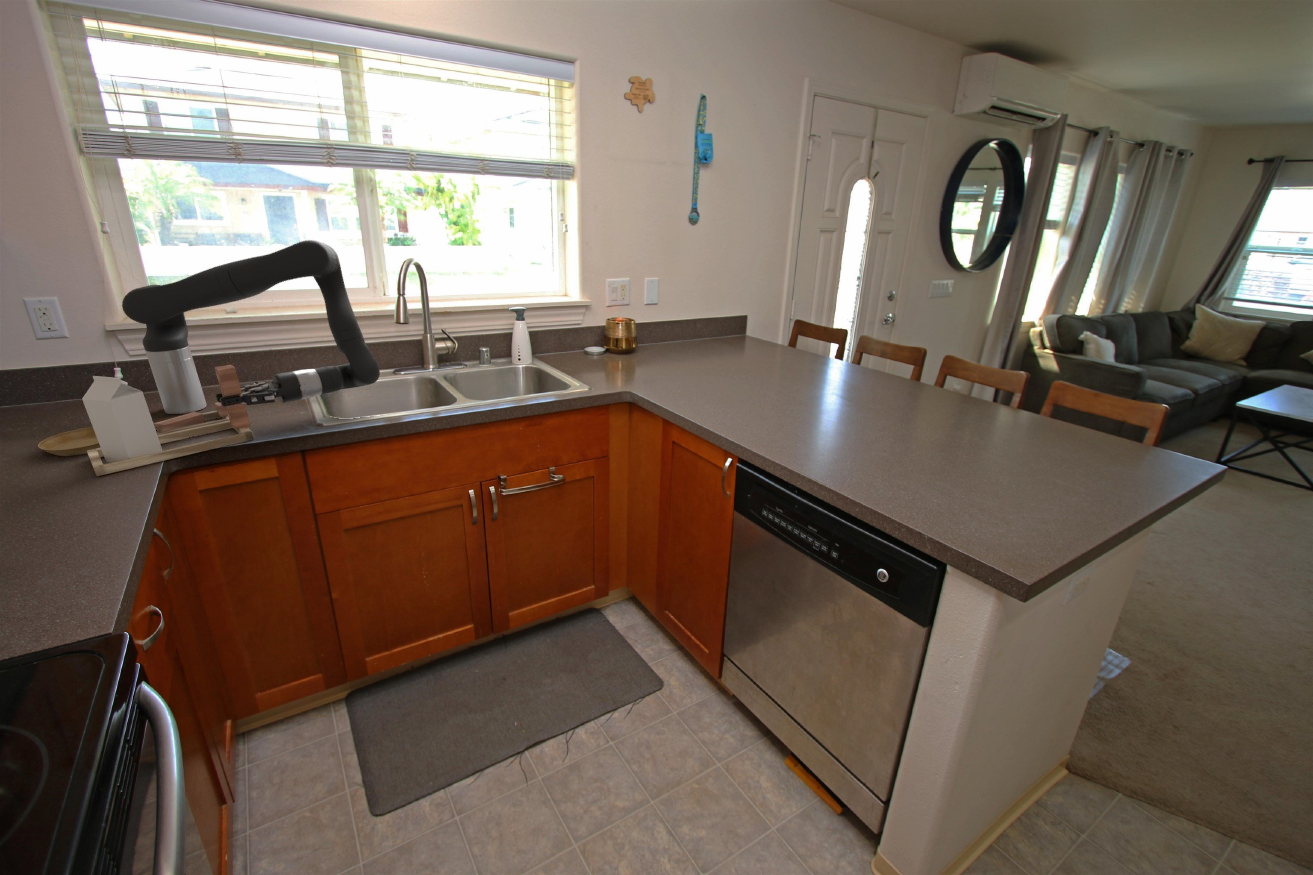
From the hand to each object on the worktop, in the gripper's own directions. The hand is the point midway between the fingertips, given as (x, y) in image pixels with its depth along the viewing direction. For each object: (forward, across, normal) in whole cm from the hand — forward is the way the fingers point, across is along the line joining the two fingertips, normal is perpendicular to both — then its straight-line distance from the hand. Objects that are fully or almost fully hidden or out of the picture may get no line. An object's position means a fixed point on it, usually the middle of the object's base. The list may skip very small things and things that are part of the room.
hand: (219, 400), depth 140 cm
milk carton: (+18, 0, +10) cm, 20 cm away
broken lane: (+6, -13, +9) cm, 18 cm away
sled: (+10, 0, +9) cm, 14 cm away
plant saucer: (+25, -17, +10) cm, 32 cm away
